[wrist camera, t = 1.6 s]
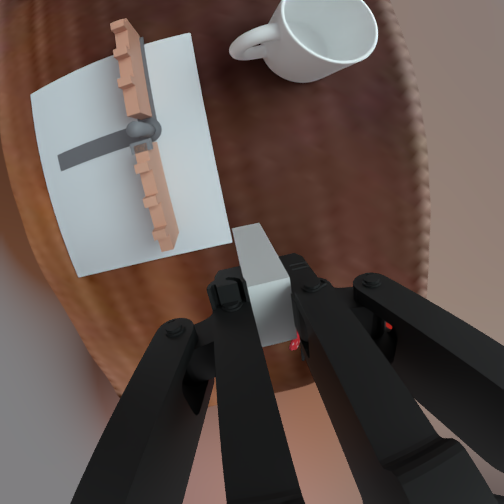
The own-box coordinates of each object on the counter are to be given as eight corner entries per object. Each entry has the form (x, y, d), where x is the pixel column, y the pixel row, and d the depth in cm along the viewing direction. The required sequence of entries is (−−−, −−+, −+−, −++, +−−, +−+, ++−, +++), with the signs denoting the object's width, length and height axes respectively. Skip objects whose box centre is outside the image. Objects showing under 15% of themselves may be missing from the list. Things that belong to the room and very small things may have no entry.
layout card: (31, 87, 21) (29, 87, 21) (189, 26, 22) (188, 25, 22) (79, 276, 31) (78, 278, 31) (232, 241, 32) (232, 242, 32)
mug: (236, 99, 26) (249, 79, 17) (215, 33, 23) (218, -11, 14) (340, 79, 27) (390, 61, 17) (319, 17, 23) (359, -19, 14)
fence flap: (142, 143, 26) (125, 144, 21) (159, 138, 26) (145, 138, 21) (166, 235, 30) (156, 257, 25) (181, 231, 30) (175, 253, 25)
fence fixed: (128, 40, 22) (109, 18, 16) (140, 36, 22) (123, 13, 16) (145, 138, 27) (126, 139, 20) (157, 135, 27) (142, 134, 20)
